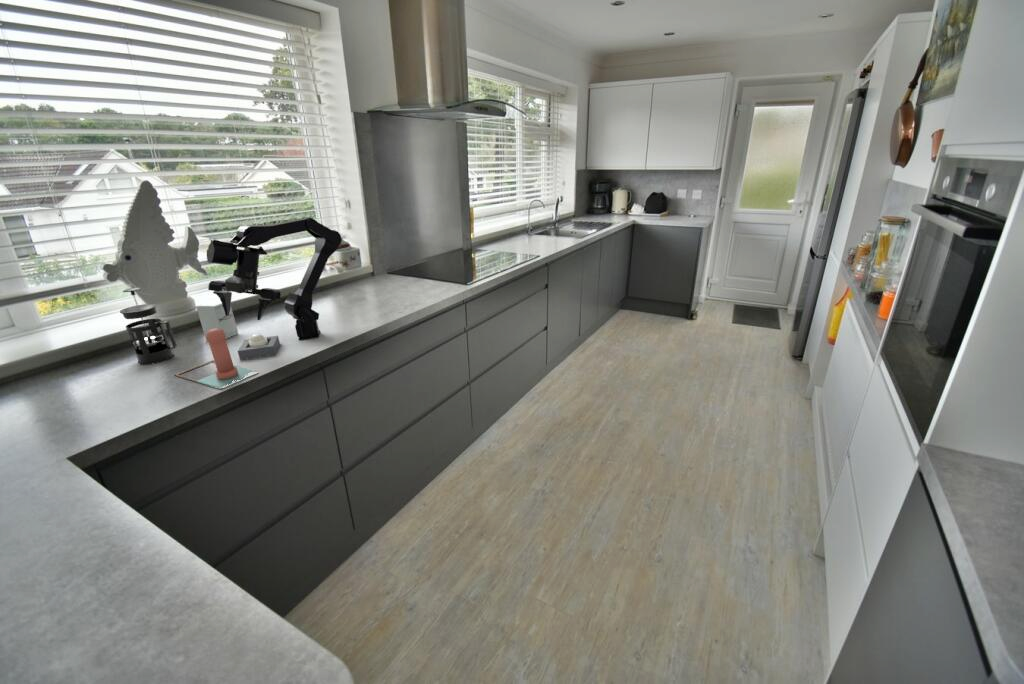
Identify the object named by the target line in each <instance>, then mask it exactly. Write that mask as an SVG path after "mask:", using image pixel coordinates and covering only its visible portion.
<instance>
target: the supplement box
mask: <svg viewBox="0 0 1024 684" xmlns="http://www.w3.org/2000/svg"><path fill="white" fill-rule="evenodd" d="M195 307H196V311H197V314H198V317H199V321H200V324H201V327H202V330H203V333H204V338H205V340H206V341H207V339H206V334H207V332H208V331H209V330H211V329H221V330H222V331H224V333H225V334H226V340H228V339H230V338H231V336H232V337H234V336H236V335H238V334H239V331H238V327H237V323H236V320H235V316H234V312H233V309H232V304H231V305H230V312H229V315H228V316H226V314H225V311H224V308H223V305H222V302H221V300H220V299H217V300H216V299H213V300H209V301H207V302H203V303H201V304H199V305H195Z"/></svg>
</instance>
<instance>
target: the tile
mask: <svg viewBox="0 0 1024 684" xmlns="http://www.w3.org/2000/svg"><path fill="white" fill-rule="evenodd" d="M235 366H236V367H237V371H238V376H236V377H234V378H232V379H228V380H218V379H217V376H216V373H215V372H214V373H212V374H213V375H212V374H209V375H208V377H207V376H205V377H203V379H202V378H200V379H197V380H198V381H197V382H199V383H198V384H200V383H202V384H201V385H203V384H205V385H204V386H207V385H208V386H207V387H210V386H213V387H217V388H221V387H223V386H224V385H225V386H226V385H227V384H228V385H229V384H231V383H232V381H233V380H234V381H235V380H236V381H237V380H241V379H243V378H244V377H245V375H246V374H247V375H248V373H250V372H253V371H254V372H255V371H256V370H252V369H248V368H246V367H245V368H244V367H242V366H237V365H235ZM247 375H246V376H247ZM236 381H235V382H236ZM197 382H196V383H197ZM213 387H212V388H213Z"/></svg>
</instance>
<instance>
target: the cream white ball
mask: <svg viewBox="0 0 1024 684" xmlns="http://www.w3.org/2000/svg"><path fill="white" fill-rule="evenodd" d="M266 337H267V336H264V335H262V334H260V333H255V334H252V335H251V337H250V340H249V345H250V347H257V346H264V345H268V341H267V338H266Z"/></svg>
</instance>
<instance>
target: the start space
mask: <svg viewBox="0 0 1024 684" xmlns="http://www.w3.org/2000/svg"><path fill="white" fill-rule="evenodd" d="M210 362H211V363H214V362H215V361H214V359H212V360H209V361H207V362H204V363H201V364H199V365H196V366H194V367H191V368H188V369H186V370H183V371H180V372H178V373H175V374H174V376H175V375H176V376H175V377H178V376H179V377H178V378H181V377H182V378H181V379H184V378H185V379H184V380H187V379H189V380H188V381H190V380H192V381H191V382H194V381H196V382H195V383H197V381H198V380H199V379H194V378H191V377H188V376H185V375H182V374H181V373H183V374H185V373H188V372H190V371H193V370H195V369H194V368H196V369H197V367H198V368H200V366H201V367H203V366H206V365H208V363H209V364H211V363H210ZM205 364H206V365H205ZM192 369H193V370H192ZM189 370H190V371H189ZM187 371H188V372H187ZM184 372H185V373H184ZM179 374H180V375H179ZM213 374H214V373H212V374H211V375H213ZM208 376H209V375H208ZM208 376H206V377H208ZM203 378H204V377H203ZM203 378H201V379H203Z"/></svg>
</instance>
